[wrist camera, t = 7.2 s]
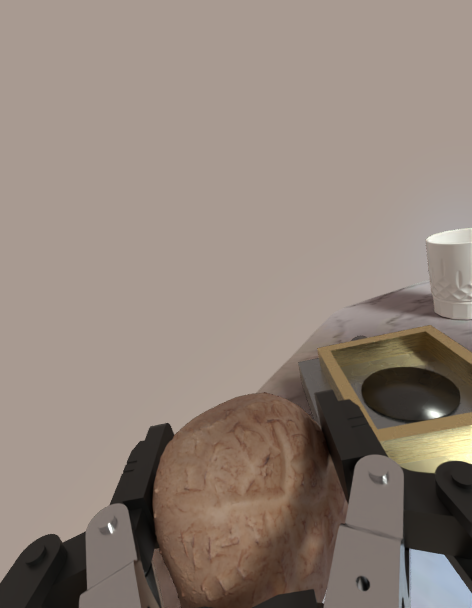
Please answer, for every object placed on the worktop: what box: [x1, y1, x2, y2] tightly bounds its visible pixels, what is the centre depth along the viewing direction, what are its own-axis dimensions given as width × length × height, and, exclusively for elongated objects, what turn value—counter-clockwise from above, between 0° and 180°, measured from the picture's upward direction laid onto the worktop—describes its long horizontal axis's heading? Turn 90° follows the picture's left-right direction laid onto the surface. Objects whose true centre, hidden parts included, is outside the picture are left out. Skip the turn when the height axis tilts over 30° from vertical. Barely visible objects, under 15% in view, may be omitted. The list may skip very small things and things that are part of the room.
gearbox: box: [298, 325, 472, 473], centre depth 28 cm, size 17×19×5 cm
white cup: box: [426, 228, 472, 320], centre depth 41 cm, size 8×8×10 cm
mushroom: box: [152, 392, 348, 608], centre depth 12 cm, size 8×6×8 cm
